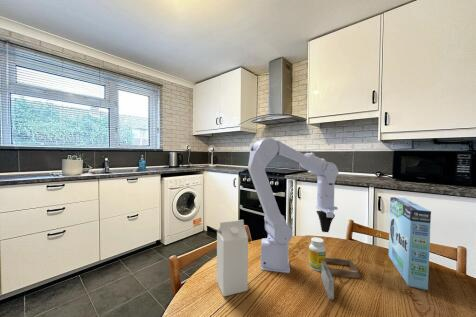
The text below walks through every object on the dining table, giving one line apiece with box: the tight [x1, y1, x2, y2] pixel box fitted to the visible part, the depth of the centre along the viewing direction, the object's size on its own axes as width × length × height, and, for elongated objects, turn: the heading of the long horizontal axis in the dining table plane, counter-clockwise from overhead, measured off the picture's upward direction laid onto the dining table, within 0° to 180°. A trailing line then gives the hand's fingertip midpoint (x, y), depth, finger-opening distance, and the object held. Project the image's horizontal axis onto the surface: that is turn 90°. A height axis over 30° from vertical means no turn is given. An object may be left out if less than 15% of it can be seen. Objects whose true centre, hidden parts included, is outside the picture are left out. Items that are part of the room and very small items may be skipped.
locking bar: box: [320, 262, 335, 301], centre depth 57 cm, size 1×10×5 cm, turn 168°
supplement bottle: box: [308, 237, 327, 272], centre depth 68 cm, size 5×5×10 cm
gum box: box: [388, 197, 432, 291], centre depth 66 cm, size 20×5×23 cm, turn 157°
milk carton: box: [216, 219, 249, 297], centre depth 58 cm, size 7×7×19 cm
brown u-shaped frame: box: [326, 256, 361, 280], centre depth 67 cm, size 10×8×2 cm
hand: (325, 231), depth 73 cm, fingers closed
